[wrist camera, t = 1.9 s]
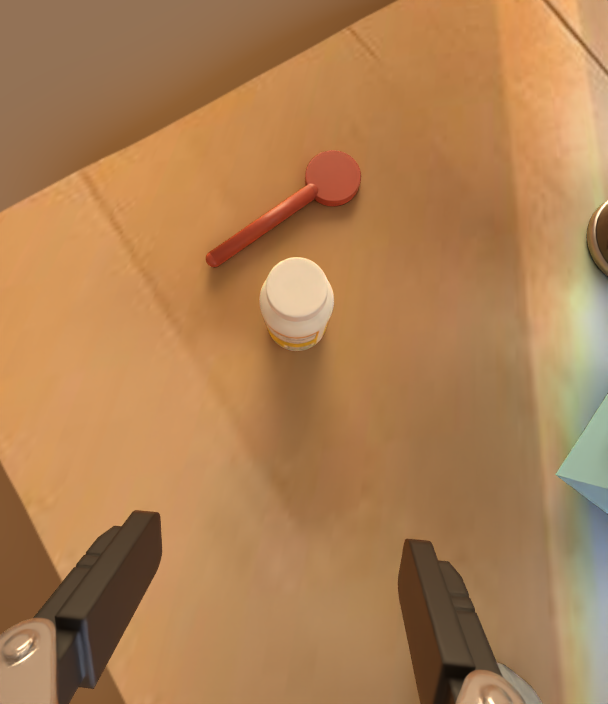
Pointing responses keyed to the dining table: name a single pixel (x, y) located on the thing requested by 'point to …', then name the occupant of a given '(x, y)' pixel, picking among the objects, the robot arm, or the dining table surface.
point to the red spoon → (299, 200)
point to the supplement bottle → (296, 303)
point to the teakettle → (590, 460)
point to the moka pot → (520, 685)
